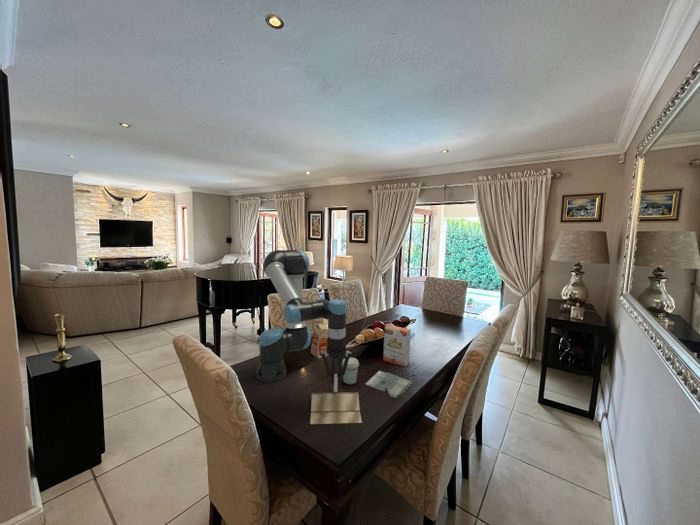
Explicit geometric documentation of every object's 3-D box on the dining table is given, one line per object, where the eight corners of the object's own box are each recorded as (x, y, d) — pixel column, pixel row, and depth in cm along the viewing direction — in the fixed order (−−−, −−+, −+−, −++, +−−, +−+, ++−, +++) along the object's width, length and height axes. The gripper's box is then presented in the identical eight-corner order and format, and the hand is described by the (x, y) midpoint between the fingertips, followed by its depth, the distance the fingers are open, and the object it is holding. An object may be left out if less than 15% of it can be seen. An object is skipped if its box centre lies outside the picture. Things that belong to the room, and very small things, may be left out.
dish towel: (396, 401, 130) (396, 394, 130) (362, 388, 141) (363, 382, 140) (412, 384, 145) (413, 378, 145) (381, 373, 156) (381, 368, 155)
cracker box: (382, 361, 170) (384, 326, 168) (387, 357, 175) (389, 324, 173) (404, 367, 162) (406, 331, 160) (409, 364, 167) (410, 329, 165)
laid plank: (309, 427, 110) (310, 423, 110) (310, 415, 118) (310, 411, 117) (361, 426, 112) (362, 422, 112) (359, 414, 119) (359, 410, 119)
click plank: (311, 413, 119) (311, 411, 118) (311, 394, 124) (311, 393, 123) (359, 411, 120) (359, 410, 119) (357, 393, 126) (358, 392, 125)
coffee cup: (345, 389, 138) (345, 365, 136) (338, 381, 145) (339, 358, 144) (361, 386, 141) (362, 362, 140) (354, 378, 149) (354, 355, 148)
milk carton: (318, 358, 171) (319, 325, 169) (310, 353, 178) (310, 321, 176) (330, 354, 177) (331, 322, 175) (322, 349, 184) (322, 319, 182)
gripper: (320, 340, 117) (320, 395, 119) (353, 339, 118) (351, 394, 120) (321, 333, 124) (320, 386, 126) (351, 333, 125) (350, 385, 128)
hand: (335, 390), depth 123 cm, fingers closed
